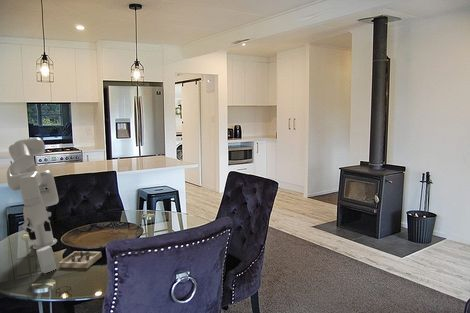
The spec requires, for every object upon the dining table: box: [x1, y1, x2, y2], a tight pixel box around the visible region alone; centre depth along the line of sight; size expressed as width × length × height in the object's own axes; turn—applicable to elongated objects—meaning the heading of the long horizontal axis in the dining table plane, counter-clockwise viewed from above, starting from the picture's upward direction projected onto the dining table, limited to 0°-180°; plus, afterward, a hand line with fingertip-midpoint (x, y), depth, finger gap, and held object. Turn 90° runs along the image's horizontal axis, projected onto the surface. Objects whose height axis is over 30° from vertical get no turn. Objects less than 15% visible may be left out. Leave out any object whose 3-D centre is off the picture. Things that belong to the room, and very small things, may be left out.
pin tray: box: [58, 250, 103, 269], centre depth 192 cm, size 16×12×4 cm
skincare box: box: [35, 246, 58, 273], centre depth 185 cm, size 6×4×12 cm
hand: (40, 235), depth 182 cm, fingers open, 9 cm apart
